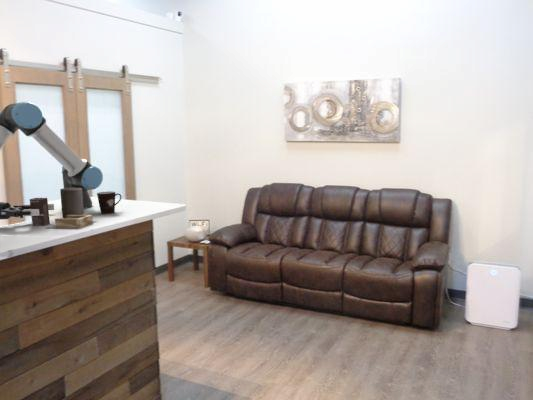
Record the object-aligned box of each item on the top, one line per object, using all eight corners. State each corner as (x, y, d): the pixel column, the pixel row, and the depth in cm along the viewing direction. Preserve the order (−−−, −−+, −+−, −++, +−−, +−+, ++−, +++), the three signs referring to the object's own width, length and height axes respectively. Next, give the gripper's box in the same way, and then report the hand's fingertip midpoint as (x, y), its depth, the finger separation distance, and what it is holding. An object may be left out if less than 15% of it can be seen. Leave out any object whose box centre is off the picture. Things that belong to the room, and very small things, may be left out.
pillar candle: (61, 220, 230) (58, 187, 228) (63, 216, 240) (61, 185, 237) (83, 218, 233) (81, 186, 231) (85, 215, 242) (82, 184, 240)
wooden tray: (69, 222, 221) (68, 214, 221) (93, 222, 219) (92, 214, 218) (55, 227, 212) (54, 219, 211) (80, 227, 209) (79, 219, 209)
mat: (67, 222, 225) (67, 221, 225) (97, 222, 222) (97, 221, 222) (44, 229, 209) (44, 228, 209) (76, 230, 206) (76, 229, 206)
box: (31, 226, 217) (28, 199, 215) (38, 224, 221) (35, 197, 220) (44, 226, 216) (41, 199, 214) (50, 224, 221) (47, 197, 219)
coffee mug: (99, 215, 240) (97, 194, 239) (98, 212, 248) (96, 192, 247) (124, 212, 245) (122, 192, 243) (122, 210, 252) (120, 190, 251)
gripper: (15, 214, 231) (60, 212, 230) (-18, 225, 207) (33, 223, 206) (13, 198, 230) (58, 196, 229) (-20, 207, 206) (31, 205, 205)
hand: (46, 209), depth 218 cm, fingers open, 13 cm apart
